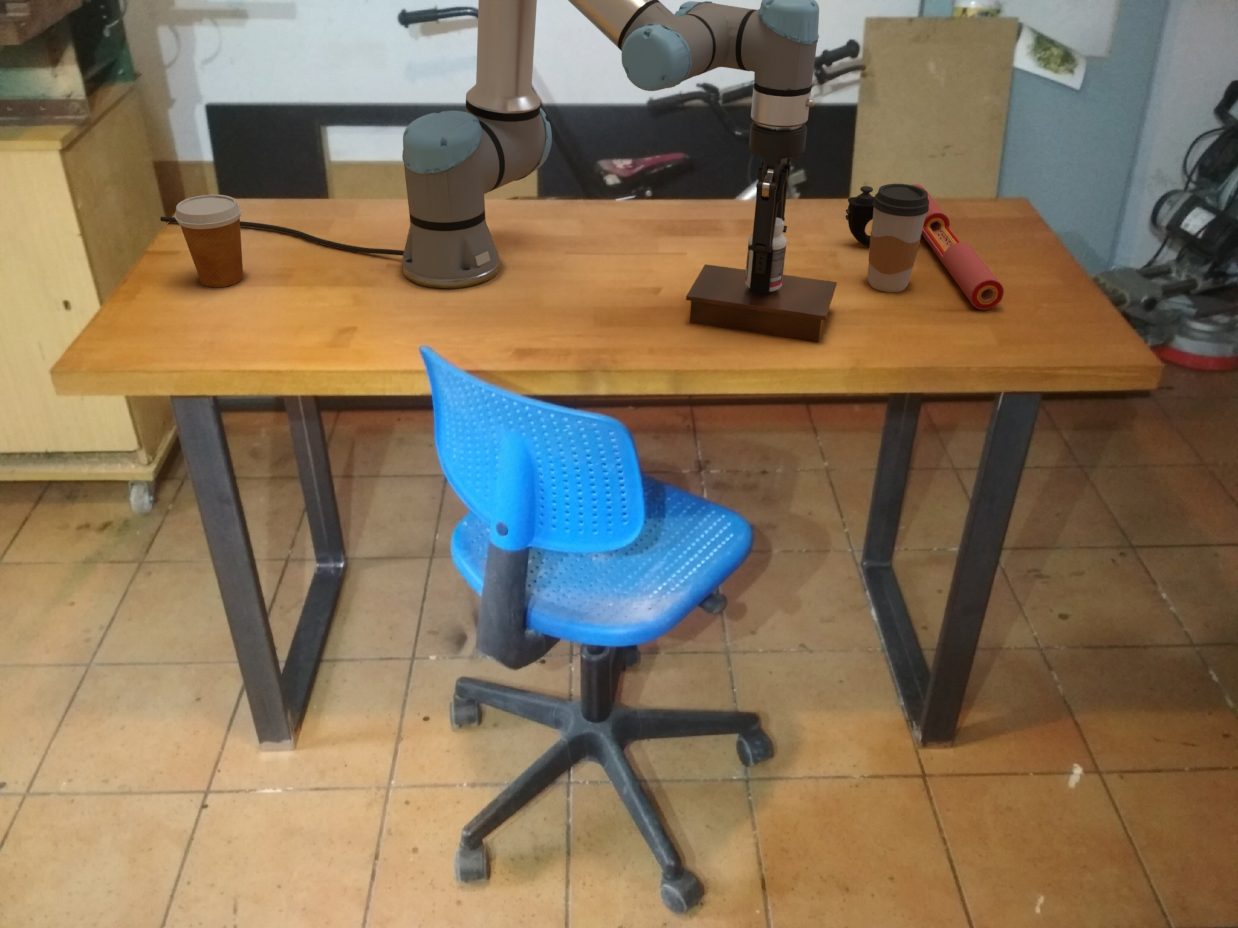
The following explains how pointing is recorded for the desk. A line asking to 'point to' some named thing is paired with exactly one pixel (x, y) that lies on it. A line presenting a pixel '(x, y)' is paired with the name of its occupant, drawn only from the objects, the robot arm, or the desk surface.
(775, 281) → the pill bottle
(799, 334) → the stand
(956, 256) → the blood vessel
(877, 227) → the coffee cup
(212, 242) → the disposable coffee cup
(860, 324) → the desk surface
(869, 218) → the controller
